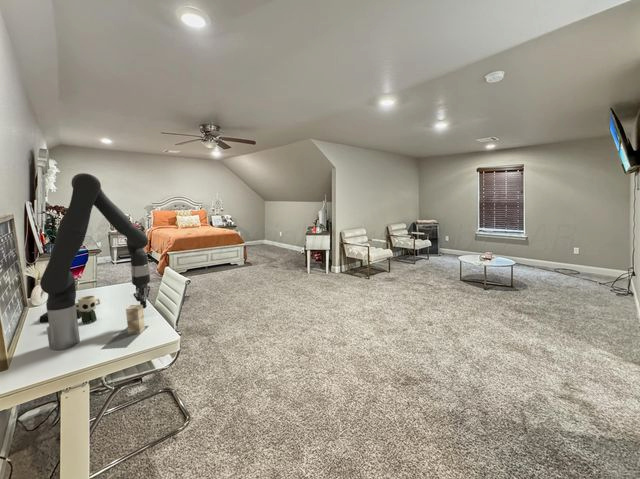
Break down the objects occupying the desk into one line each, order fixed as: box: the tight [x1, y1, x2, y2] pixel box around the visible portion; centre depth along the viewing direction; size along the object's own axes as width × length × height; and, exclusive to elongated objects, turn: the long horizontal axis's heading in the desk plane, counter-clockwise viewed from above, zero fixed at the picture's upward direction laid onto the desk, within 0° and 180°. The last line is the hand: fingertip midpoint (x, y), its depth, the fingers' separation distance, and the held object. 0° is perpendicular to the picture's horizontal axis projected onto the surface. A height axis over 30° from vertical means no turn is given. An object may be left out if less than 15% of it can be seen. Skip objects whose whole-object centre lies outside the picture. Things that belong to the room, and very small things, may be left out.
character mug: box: [75, 295, 101, 324], centre depth 152 cm, size 11×7×13 cm, turn 141°
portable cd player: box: [38, 305, 83, 324], centre depth 162 cm, size 16×17×4 cm
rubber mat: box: [100, 325, 149, 350], centre depth 134 cm, size 10×22×1 cm, turn 7°
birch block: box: [125, 304, 146, 334], centre depth 139 cm, size 5×5×12 cm
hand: (143, 308), depth 147 cm, fingers closed
